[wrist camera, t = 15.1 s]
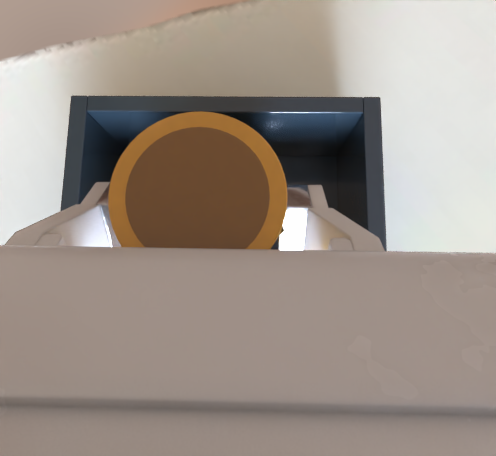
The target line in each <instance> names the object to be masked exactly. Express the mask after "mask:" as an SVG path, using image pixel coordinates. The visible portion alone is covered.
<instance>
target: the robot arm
mask: <svg viewBox="0 0 496 456" xmlns="http://www.w3.org/2000/svg"><path fill="white" fill-rule="evenodd" d="M109 187H110V182H96V183H95V184H94V186H93V187H92V188H91V190H90V191H89V193H88V194H87V195H86V197H85V198H84V199H83V201H82V202H81V204H75V205H73V206H71V207H69V208H67V209H65V210H63V211H60V212H58V213H56V214H54V215H52V216H50V217H47V218H45V219H43V220H41V221H39V222H37V223H34V224H32V225H30V226H28V227H26V228H24V229H21V230H19V231H17V232H15V233H14V235H13V236H12V237H11V238H10V239H9V240H8V241H7V243H6V244H5V245H0V456H496V253H467V252H403V251H385V250H384V248H383V246H382V243H381V241H380V239H379V238H378V237H377V236H375V235H374V234H372V233H371V232H369V231H368V230H366V229H364V228H363V227H361V226H360V225H358V224H357V223H355V222H353V221H352V220H350V219H349V218H347V217H346V216H344V215H342V214H341V213H339V212H338V211H336V210H335V209H333V208H328V204H327V201H326V197H325V194H324V191H323V187H322V185H287V194H288V201H287V211H286V216H285V220H284V223H283V226H282V229H281V232H280V234H279V236H278V242H279V250H273V249H209V248H148V247H121V245H120V243H119V242H118V240H117V238H116V235H115V233H114V231H113V228H112V224H111V221H110V216H109V208H108V194H109Z"/></svg>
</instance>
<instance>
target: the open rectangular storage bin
mask: <svg viewBox="0 0 496 456" xmlns="http://www.w3.org/2000/svg"><path fill="white" fill-rule="evenodd" d="M200 111H202V112H213V113H218V114H223V115H226V116H229V117H232V118H235V119H237V120H239V121H241V122H243V123H245V124H246V125H248V126H250V127H251V128H253V129H254V130H255V131H256V132H258V133H259V134H260V135H261V136H262V137H263V138H264V139H265V140H266V141H267V142H268V144H269V145H270V146H271V148H272V149H273V150H274V152H275V153H276V155H277V157H278V159H279V161H280V163H281V165H282V168H283V171H284V174H285V179H286V183H287V185H322V187H323V191H324V194H325V197H326V201H327V204H328V208H333V209H335V210H336V211H338V212H339V213H341V214H342V215H344V216H346V217H347V218H349V219H350V220H352V221H353V222H355V223H357V224H358V225H360V226H361V227H363V228H364V229H366V230H368V231H369V232H371V233H372V234H374V235H375V236H377V237H378V238H379V239H380V241H381V243H382V246H383V248H384V250H385V251H387V250H386V226H385V201H384V176H383V152H382V127H381V103H380V97H364V98H362V97H203V96H71V104H70V115H69V126H68V137H67V147H66V158H65V169H64V179H63V190H62V201H61V211H63V210H65V209H67V208H69V207H71V206H73V205H75V204H81V202H82V201H83V199H84V198H85V197H86V195H87V194H88V193H89V191H90V190H91V188H92V187H93V186H94V184H95V183H96V182H110V181H111V178H112V174H113V171H114V169H115V167H116V164H117V162H118V160H119V158H120V157H121V155H122V153H123V152H124V150H125V149H126V148H127V147H128V145H129V144H130V143H131V142H132V141H133V140H134V139H135V138H136V137H137V136H138V135H139V134H140V133H141V132H143V131H144V130H145V129H146V128H148V127H149V126H151V125H153V124H154V123H156V122H158V121H160V120H162V119H165V118H167V117H170V116H173V115H177V114H181V113H187V112H200ZM272 249H273V250H279V242H278V238H277V240H276V242H275V244H274V246H273V247H272Z"/></svg>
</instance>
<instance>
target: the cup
mask: <svg viewBox="0 0 496 456" xmlns="http://www.w3.org/2000/svg"><path fill="white" fill-rule="evenodd" d="M287 201H288V194H287V183H286V179H285V174H284V171H283V168H282V165H281V163H280V161H279V159H278V157H277V155H276V153H275V152H274V150H273V149H272V148H271V146H270V145H269V144H268V142H267V141H266V140H265V139H264V138H263V137H262V136H261V135H260V134H259V133H258V132H256V131H255V130H254V129H253V128H251V127H250V126H248V125H246V124H245V123H243V122H241V121H239V120H237V119H235V118H232V117H229V116H226V115H223V114H218V113H213V112H202V111H200V112H187V113H181V114H177V115H173V116H170V117H167V118H165V119H162V120H160V121H158V122H156V123H154V124H153V125H151V126H149V127H148V128H146V129H145V130H144V131H143V132H141V133H140V134H139V135H138V136H137V137H136V138H135V139H134V140H133V141H132V142H131V143H130V144H129V145H128V147H127V148H126V149H125V150H124V152H123V153H122V155H121V157H120V158H119V160H118V162H117V164H116V167H115V169H114V171H113V174H112V178H111V181H110V187H109V194H108V208H109V216H110V221H111V224H112V228H113V231H114V233H115V235H116V238H117V240H118V242H119V243H120V245H121V247H148V248H209V249H272V247H273V246H274V244H275V242H276V240H277V238H278V236H279V234H280V232H281V229H282V226H283V223H284V220H285V216H286V211H287Z"/></svg>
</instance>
